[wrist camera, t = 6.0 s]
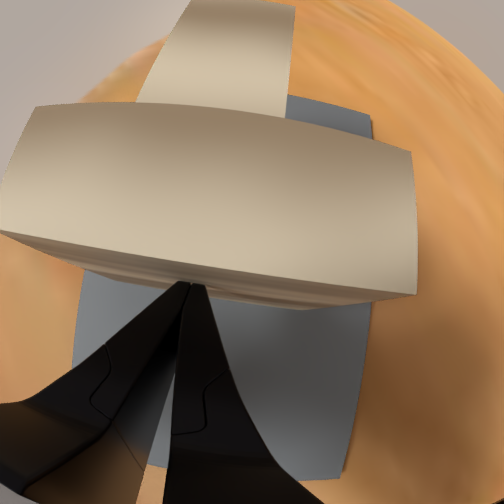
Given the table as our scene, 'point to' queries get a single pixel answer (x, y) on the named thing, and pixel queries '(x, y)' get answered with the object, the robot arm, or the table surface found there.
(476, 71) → the table surface
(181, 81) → the maple T block
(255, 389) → the slate board
